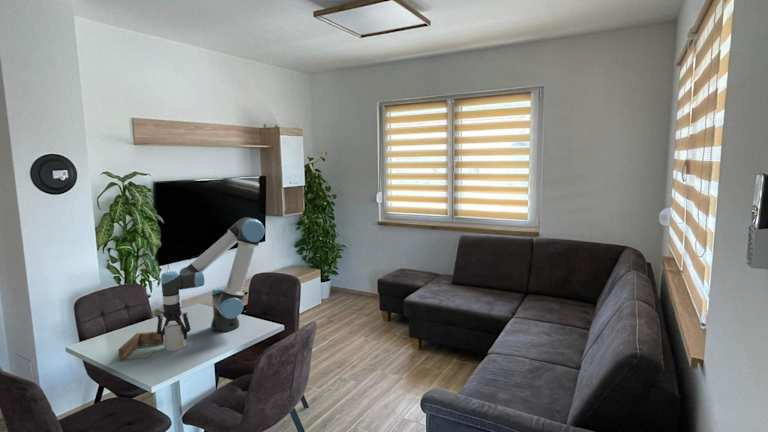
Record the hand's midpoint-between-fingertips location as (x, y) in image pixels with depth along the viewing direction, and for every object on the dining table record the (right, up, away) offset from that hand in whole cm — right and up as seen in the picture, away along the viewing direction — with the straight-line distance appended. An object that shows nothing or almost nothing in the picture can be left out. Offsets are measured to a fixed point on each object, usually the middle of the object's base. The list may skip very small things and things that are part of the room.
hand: (175, 345), depth 214 cm
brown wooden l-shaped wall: (-13, -2, -5) cm, 14 cm away
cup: (0, -1, 0) cm, 1 cm away
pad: (-13, -2, -7) cm, 15 cm away
